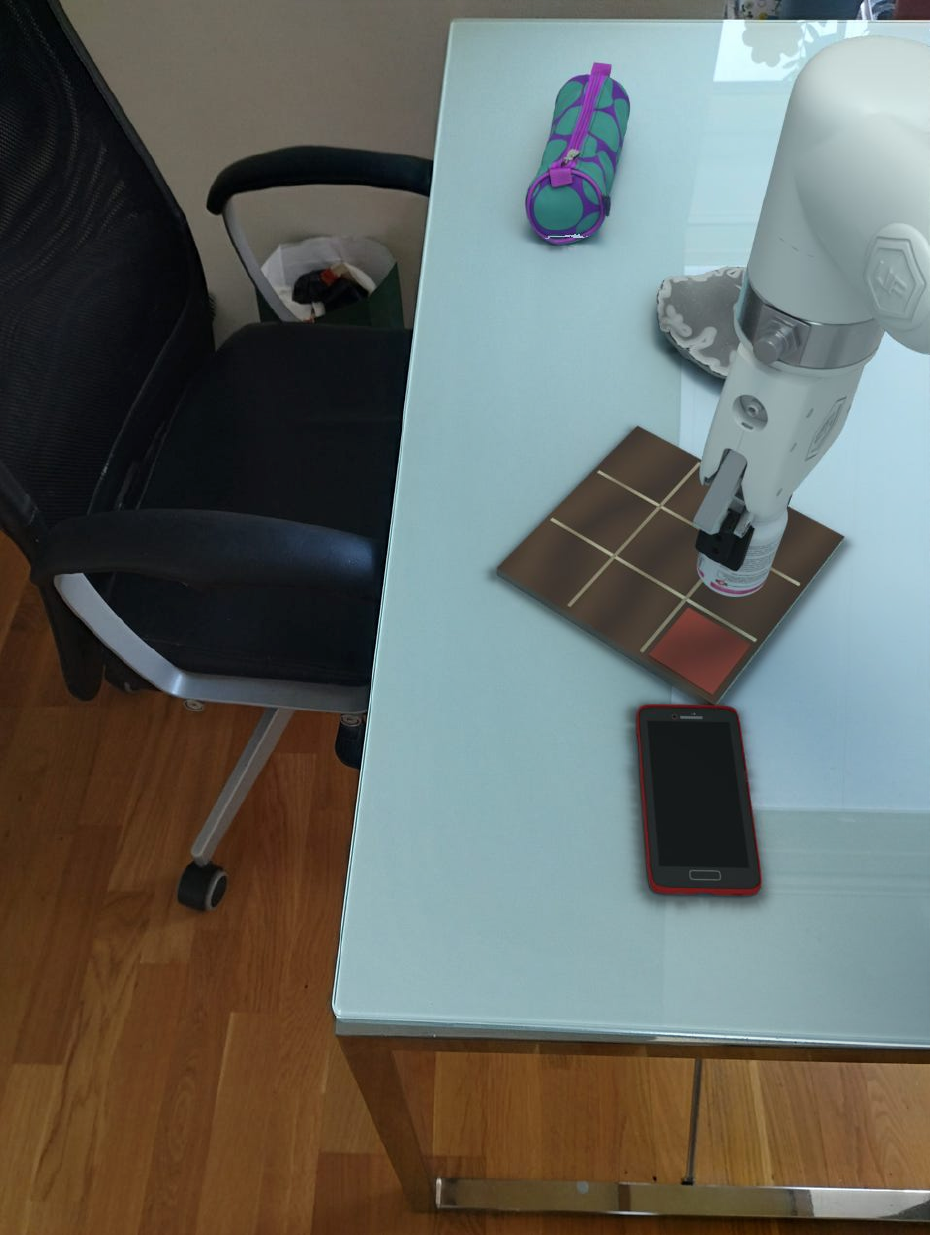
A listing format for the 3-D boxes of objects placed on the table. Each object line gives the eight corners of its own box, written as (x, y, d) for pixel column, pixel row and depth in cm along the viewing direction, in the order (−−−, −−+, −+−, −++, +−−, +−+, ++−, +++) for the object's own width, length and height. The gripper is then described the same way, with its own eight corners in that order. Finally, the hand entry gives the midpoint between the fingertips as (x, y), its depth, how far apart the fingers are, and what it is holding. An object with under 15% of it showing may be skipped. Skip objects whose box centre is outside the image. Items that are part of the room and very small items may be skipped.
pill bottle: (781, 576, 72) (814, 491, 65) (731, 610, 70) (759, 527, 63) (730, 534, 74) (757, 447, 67) (681, 565, 72) (703, 480, 65)
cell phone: (648, 895, 73) (650, 890, 72) (634, 709, 81) (635, 702, 80) (761, 898, 72) (764, 893, 72) (735, 710, 81) (738, 704, 80)
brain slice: (659, 405, 100) (664, 382, 97) (647, 289, 109) (651, 265, 107) (869, 409, 99) (879, 385, 97) (838, 292, 109) (847, 267, 106)
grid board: (841, 543, 90) (845, 535, 89) (712, 711, 81) (715, 704, 80) (636, 432, 98) (637, 424, 97) (496, 574, 89) (496, 566, 88)
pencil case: (604, 256, 112) (614, 173, 105) (522, 246, 114) (525, 164, 106) (627, 146, 124) (637, 65, 116) (552, 138, 125) (558, 57, 117)
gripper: (798, 433, 49) (722, 647, 64) (953, 252, 56) (852, 482, 71) (661, 364, 52) (619, 585, 67) (826, 200, 59) (755, 432, 74)
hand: (740, 529), depth 69 cm, fingers closed on pill bottle, 4 cm apart
